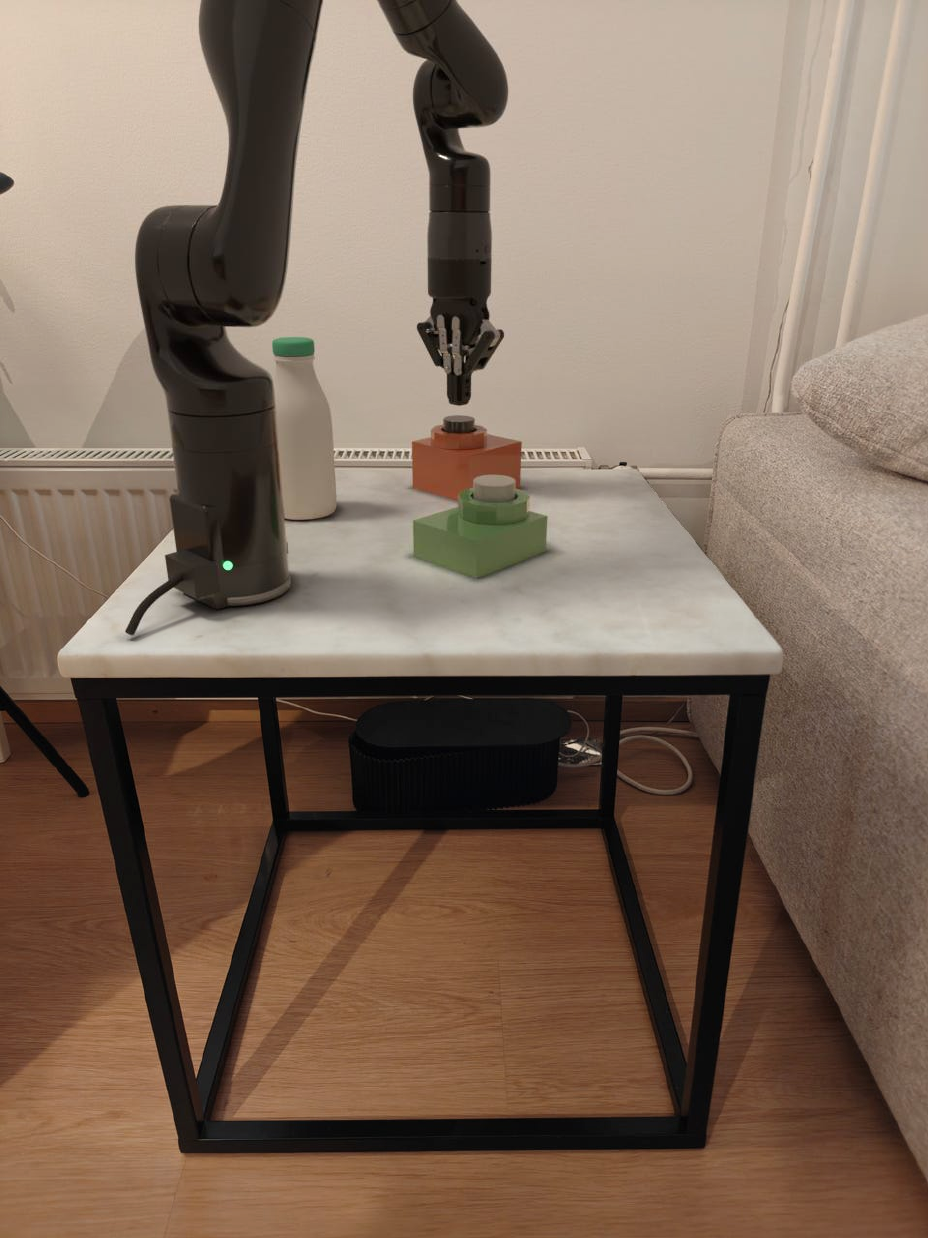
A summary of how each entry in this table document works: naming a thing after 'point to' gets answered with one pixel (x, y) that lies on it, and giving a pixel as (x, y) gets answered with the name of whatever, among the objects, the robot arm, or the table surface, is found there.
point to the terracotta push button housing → (462, 460)
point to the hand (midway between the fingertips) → (459, 404)
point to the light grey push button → (494, 488)
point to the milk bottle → (303, 432)
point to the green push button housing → (481, 535)
